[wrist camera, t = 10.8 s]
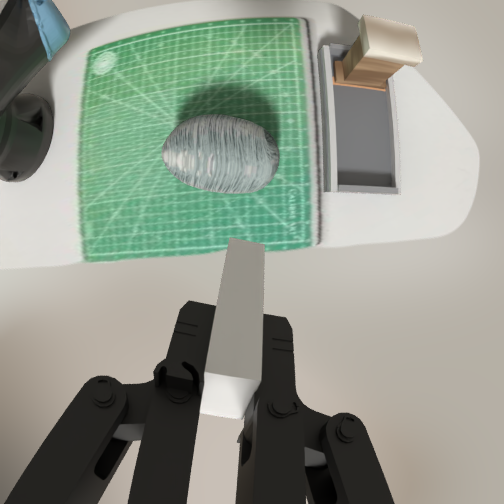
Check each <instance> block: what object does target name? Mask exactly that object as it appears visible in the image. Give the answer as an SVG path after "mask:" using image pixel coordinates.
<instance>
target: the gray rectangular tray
mask: <svg viewBox="0 0 504 504" xmlns="http://www.w3.org/2000/svg"><path fill="white" fill-rule="evenodd" d="M351 47H352V46H350V45H342V44H334V43H330V45H329V46H327V45H323V47H322V49H320V50H319V52H318V54H317V57H318V68H319V81H320V96H321V113H322V135H323V170H324V192H345V193H370V194H389V195H401V165H400V143H399V128H398V116H397V106H396V97H395V89H394V82H393V75H392V76H391V77H390V78H388V79H387V80H386V88H385V89H379V88H372V87H365V86H358V85H350V84H340V83H335V79H334V68H333V63H334V61H343V59H344V58H345V56H346V55H347V53H348V52H349V50H350V49H351Z"/></svg>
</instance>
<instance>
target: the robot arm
mask: <svg viewBox="0 0 504 504" xmlns="http://www.w3.org/2000/svg"><path fill="white" fill-rule="evenodd" d="M69 36H70V28H69V26H68V24H67V22H66V21H65V19H64V18H63V16H62V14H61V13H60V11H59V10H58V8H57V7H56V6H55V4H54V3H53V2H52V0H0V179H1V180H3V181H6V182H21V181H24V180H26V179H27V178H29V177H30V176H31V175H33V174H34V173H35V172H36V170H37V169H38V168H39V166H40V165H41V163H42V162H43V160H44V158H45V156H46V154H47V151H48V149H49V146H50V142H51V138H52V132H53V117H52V112H51V109H50V106H49V105H48V103H47V102H46V101H45V100H44V99H43V98H41V97H38V96H36V95H33V94H19V93H20V92H21V91H22V90H23V88H24V87H25V86H26V85H27V84H28V83H29V81H30V80H31V79H32V78H33V77H34V76H35V75H36V74H37V73H38V72H39V70H40V69H41V68H42V67H43V66H44V65H45V64H46V63H47V62H48V61H49V62H50V61H51V59H52V57H53V56H54V54H55V53H56V52H57V51H58V50H59V49H60V48H61V47H62V46H63V45H64V44H65V43H66V42H67V40H68V39H69ZM18 94H19V95H18ZM264 252H265V244H260V243H255V242H250V241H245V240H240V239H235V238H229V243H228V248H227V254H226V259H225V264H224V269H223V274H222V279H221V284H220V289H219V295H218V300H217V305H216V306H214V305H209V304H204V303H199V302H194V301H188V302H187V303H186V304H185V305H184V306H183V307H182V308H181V309H180V312H179V315H178V318H177V322H176V325H175V328H174V333H173V335H172V339H171V342H170V346H169V349H168V353H167V356H166V359H164V360H163V361H161V362H160V363H159V364H157V366H156V368H155V370H154V371H153V373H154V379H153V380H151V381H149V382H147V383H141V384H121V383H120V382H119V381H118V380H116V379H115V378H112V377H109V376H96V377H94V378H91V379H90V380H89V381H87V382H86V383H85V384H84V386H83V387H82V388H81V390H80V391H79V392H78V394H77V395H76V396H75V398H74V399H73V401H72V402H71V403H70V405H69V406H68V408H67V409H66V410H65V412H64V413H63V415H62V416H61V417H60V419H59V420H58V422H57V423H56V425H55V426H54V428H53V429H52V430H51V432H50V433H49V435H48V436H47V438H46V439H45V440H44V442H43V443H42V445H41V447H40V448H39V449H38V451H37V453H36V454H35V455H34V457H33V458H32V460H31V462H30V463H29V465H28V466H27V468H26V469H25V471H24V472H23V474H22V475H21V477H20V479H19V480H18V482H17V483H16V485H15V487H14V488H13V490H12V491H11V493H10V495H9V496H8V498H7V500H6V502H5V503H4V504H98V502H99V500H100V498H101V497H102V495H103V493H104V491H105V489H106V488H107V486H108V484H109V482H110V481H111V479H112V477H113V475H114V474H115V472H116V470H117V468H118V467H119V465H120V463H121V461H122V460H123V458H124V456H125V454H126V453H127V451H128V449H129V447H130V446H131V444H132V442H133V441H137V440H141V444H140V448H139V453H138V457H137V461H136V466H135V470H134V475H133V479H132V484H131V489H130V494H129V499H128V504H187V496H188V488H189V481H190V473H191V467H192V460H193V453H194V445H195V439H196V433H197V425H198V420H199V413H203V414H208V415H214V416H221V417H227V418H234V419H241V420H242V419H243V417H244V415H245V418H244V419H245V420H244V428H243V430H242V431H241V433H240V435H239V437H238V440H237V443H240V451H239V464H238V477H237V491H236V504H306V497H307V500H308V504H394V501H393V498H392V495H391V493H390V490H389V487H388V485H387V482H386V479H385V477H384V474H383V471H382V469H381V466H380V464H379V461H378V458H377V456H376V453H375V451H374V448H373V446H372V443H371V441H370V438H369V435H368V433H367V430H366V428H365V426H364V424H363V423H362V421H361V420H360V419H359V418H358V417H356V416H355V415H353V414H350V413H338V414H336V415H334V416H333V417H330V416H327V415H324V414H322V413H319V412H316V411H314V410H312V409H310V408H308V407H307V406H306V405H304V404H303V403H302V401H301V400H300V399H299V397H298V395H297V392H296V386H295V365H294V353H293V351H294V349H293V333H292V328H291V326H290V324H289V322H288V320H287V318H286V317H280V316H274V315H268V314H263V301H264Z"/></svg>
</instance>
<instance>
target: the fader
mask: <svg viewBox="0 0 504 504" xmlns="http://www.w3.org/2000/svg"><path fill="white" fill-rule="evenodd" d="M358 27H359V33H360V35H359V37H358V38H357V40H356V41H355V43H354V44H353V46H352V47H351V49H350V50H349V52H348V53H347V55H346V56H345V58H344V59H343V61H334V63H333V68H334V79H335V83H340V84H350V85H358V86H365V87H372V88H379V89H385V88H386V80H387V79H388V78H390V77H391V76H392V75H393V74H394V73H395V72H397V71H398V70H399V69H400V68H401V67H403V66H404V65H408V66H412V67H415V66H416V65H418V64H419V63H420V62H422V61H423V59H422V54H421V49H420V45H419V40H418V37H417V32H416V28H415V27H413V26H410V25H406V24H403V23H398V22H395V21H391V20H386V19H382V18H377V17H373V16H368V15H363V16H362V18H361V19H360V21H359V23H358Z"/></svg>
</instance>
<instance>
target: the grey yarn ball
mask: <svg viewBox="0 0 504 504" xmlns="http://www.w3.org/2000/svg"><path fill="white" fill-rule="evenodd" d="M161 154H162V159H163V161H164V163H165V166H166V167H167V168H168V170H169V171H170V172H171V173H172V174H173V175H174V176H175V177H176V178H178V179H179V180H180V181H182V182H183V183H185V184H187V185H190V186H193V187H196V188H199V189H203V190H207V191H212V192H220V193H251V192H254V191H257V190H260V189H262V188H264V187H265V186H266V185H267V184H268V183H269V182H270V181H271V180H272V179H273V177H274V175H275V173H276V171H277V169H278V166H279V156H280V155H279V149H278V146H277V143H276V141H275V139H274V138H273V136H272V135H271V134H270V133H269V132H268V131H267V130H265V129H264V128H263V127H261V126H259V125H257V124H255V123H253V122H251V121H248V120H245V119H241V118H237V117H232V116H228V115H220V114H211V115H200V116H196V117H193V118H190V119H188V120H186V121H184V122H182V123H181V124H179V125H178V126H177V127H176V128H175V129H174V130H173V131H172V132H171V134H170V135H169V136H168V138H167V139H166V141H165V143H164V144H163V147H162V153H161Z"/></svg>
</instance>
